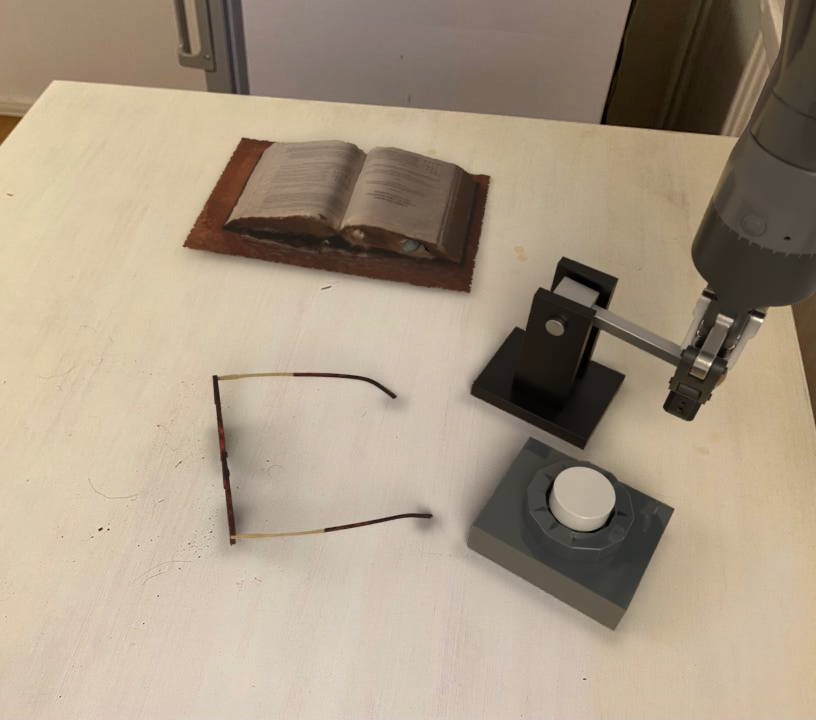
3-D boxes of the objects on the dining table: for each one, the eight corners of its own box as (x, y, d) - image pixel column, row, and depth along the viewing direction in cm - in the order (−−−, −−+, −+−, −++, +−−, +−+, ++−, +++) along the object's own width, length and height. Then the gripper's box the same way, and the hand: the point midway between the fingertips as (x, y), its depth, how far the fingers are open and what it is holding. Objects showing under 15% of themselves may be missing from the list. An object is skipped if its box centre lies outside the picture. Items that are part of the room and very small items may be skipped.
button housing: (661, 531, 59) (683, 494, 55) (614, 631, 54) (634, 598, 50) (522, 460, 63) (534, 421, 59) (467, 547, 58) (475, 510, 54)
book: (470, 301, 75) (477, 262, 71) (181, 253, 78) (175, 214, 75) (489, 184, 88) (496, 147, 85) (242, 147, 92) (240, 111, 89)
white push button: (618, 498, 55) (625, 484, 54) (595, 542, 53) (601, 528, 52) (563, 471, 57) (568, 456, 55) (538, 512, 54) (543, 498, 53)
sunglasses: (214, 410, 66) (211, 370, 62) (390, 393, 69) (398, 353, 65) (232, 570, 57) (230, 534, 53) (435, 543, 59) (447, 506, 56)
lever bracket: (622, 385, 68) (663, 281, 59) (583, 450, 63) (622, 348, 54) (513, 336, 71) (537, 231, 63) (470, 394, 67) (489, 291, 58)
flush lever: (722, 378, 58) (742, 350, 56) (708, 407, 57) (727, 379, 54) (557, 297, 62) (569, 268, 60) (539, 322, 61) (550, 293, 58)
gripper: (822, 304, 41) (707, 489, 54) (879, 166, 49) (766, 357, 61) (676, 249, 44) (600, 437, 57) (752, 127, 51) (669, 317, 64)
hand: (687, 394), depth 59 cm, fingers closed on flush lever, 3 cm apart
